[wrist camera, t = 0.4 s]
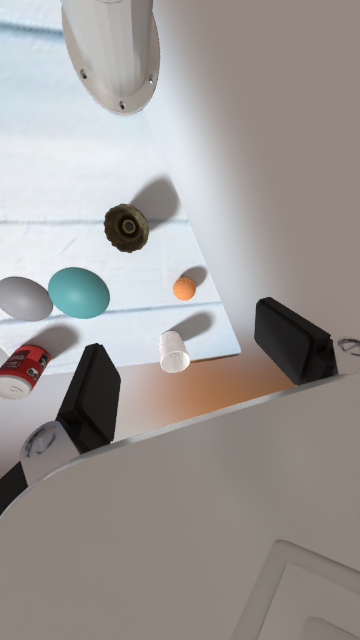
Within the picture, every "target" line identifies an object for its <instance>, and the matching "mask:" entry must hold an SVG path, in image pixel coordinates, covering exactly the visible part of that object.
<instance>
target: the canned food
mask: <svg viewBox="0 0 360 640" xmlns="http://www.w3.org/2000/svg"><path fill="white" fill-rule="evenodd" d="M49 358H50V357H49V354H48V352H47V351H46V350H44V349H43V348H41V347H38V346H35V345H25V346H22V347H20V348H18V349H17V350H16V351H15V352H14V353H13V354H12V355H11V356H10V358H9V359H8V360H7V361H6V362H5V363H4V364H3V365H2V366H1V368H0V398H4V399H22V398H25V397H26V396H28V395H29V394H30V392H31V391H32V389H33V388H34V386H35V384H36V383H37V381H38V379H39V378H40V376H41V374H42V373H43V371H44V369H45V368H46V366H47V364H48V362H49Z"/></svg>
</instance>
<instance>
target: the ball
mask: <svg viewBox="0 0 360 640" xmlns="http://www.w3.org/2000/svg"><path fill="white" fill-rule="evenodd" d="M173 291H174V294H175V296H176V297H177V298H178V299H180V300H189V299H191V298H192V297H193V296H194V294H195V291H196V286H195V284H194V282H193V281H192V280H191V279H189V278H186V277H183V278H180V279H178V280H177V281H176V282H175V284H174V286H173Z"/></svg>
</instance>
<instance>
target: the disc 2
mask: <svg viewBox="0 0 360 640" xmlns="http://www.w3.org/2000/svg"><path fill="white" fill-rule="evenodd" d="M48 292H49V296H50V299H51V300H52V302H53V303H54V305H55V306H56V307H57V308H58V309H59V310H61V311H62V312H63V313H65V314H67V315H69V316H72V317H75V318H81V319H88V318H93V317H96V316H98V315H100V314H101V313H103V312H104V311H105V309H106V308H107V306H108V303H109V292H108V289H107V287H106V286H105V284H104V283H103V281H102V280H101V279H100V278H99V277H97V276H96V275H95V274H93V273H91V272H89V271H87V270H84V269H80V268H67V269H63V270H61V271H59V272H57V273H56V274H54V275H53V276H52V278H51V279H50V281H49V285H48Z"/></svg>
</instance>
